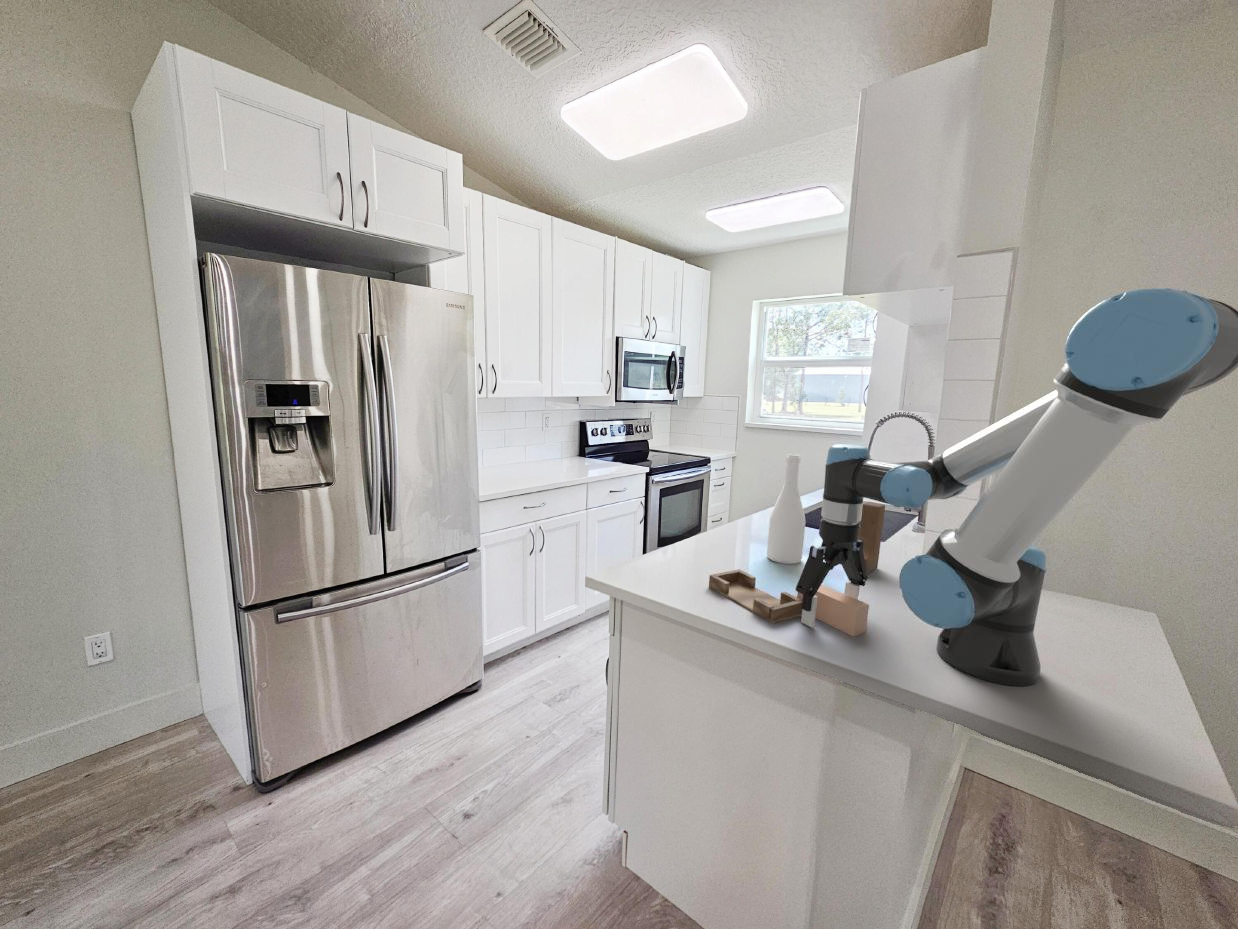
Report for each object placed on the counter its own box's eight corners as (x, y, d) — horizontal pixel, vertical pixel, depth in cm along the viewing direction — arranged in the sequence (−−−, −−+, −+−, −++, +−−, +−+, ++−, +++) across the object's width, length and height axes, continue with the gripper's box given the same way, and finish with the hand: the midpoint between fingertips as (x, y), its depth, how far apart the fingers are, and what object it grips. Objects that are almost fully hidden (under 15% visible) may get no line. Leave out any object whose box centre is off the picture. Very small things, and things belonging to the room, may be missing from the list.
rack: (804, 614, 108) (805, 601, 107) (772, 623, 103) (773, 609, 103) (738, 580, 125) (739, 569, 125) (708, 587, 121) (709, 575, 120)
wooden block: (864, 576, 132) (873, 509, 129) (847, 571, 135) (855, 505, 132) (877, 568, 138) (885, 504, 135) (860, 563, 141) (868, 501, 138)
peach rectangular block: (865, 632, 101) (869, 604, 100) (853, 637, 99) (856, 608, 98) (807, 605, 113) (810, 580, 112) (795, 608, 111) (798, 583, 110)
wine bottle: (804, 566, 137) (815, 458, 132) (768, 563, 138) (778, 456, 134) (797, 555, 146) (808, 453, 141) (764, 552, 148) (773, 451, 143)
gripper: (861, 510, 112) (850, 600, 115) (783, 521, 100) (773, 622, 103) (894, 518, 105) (881, 614, 109) (814, 532, 93) (803, 638, 97)
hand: (829, 618), depth 106 cm, fingers open, 12 cm apart
